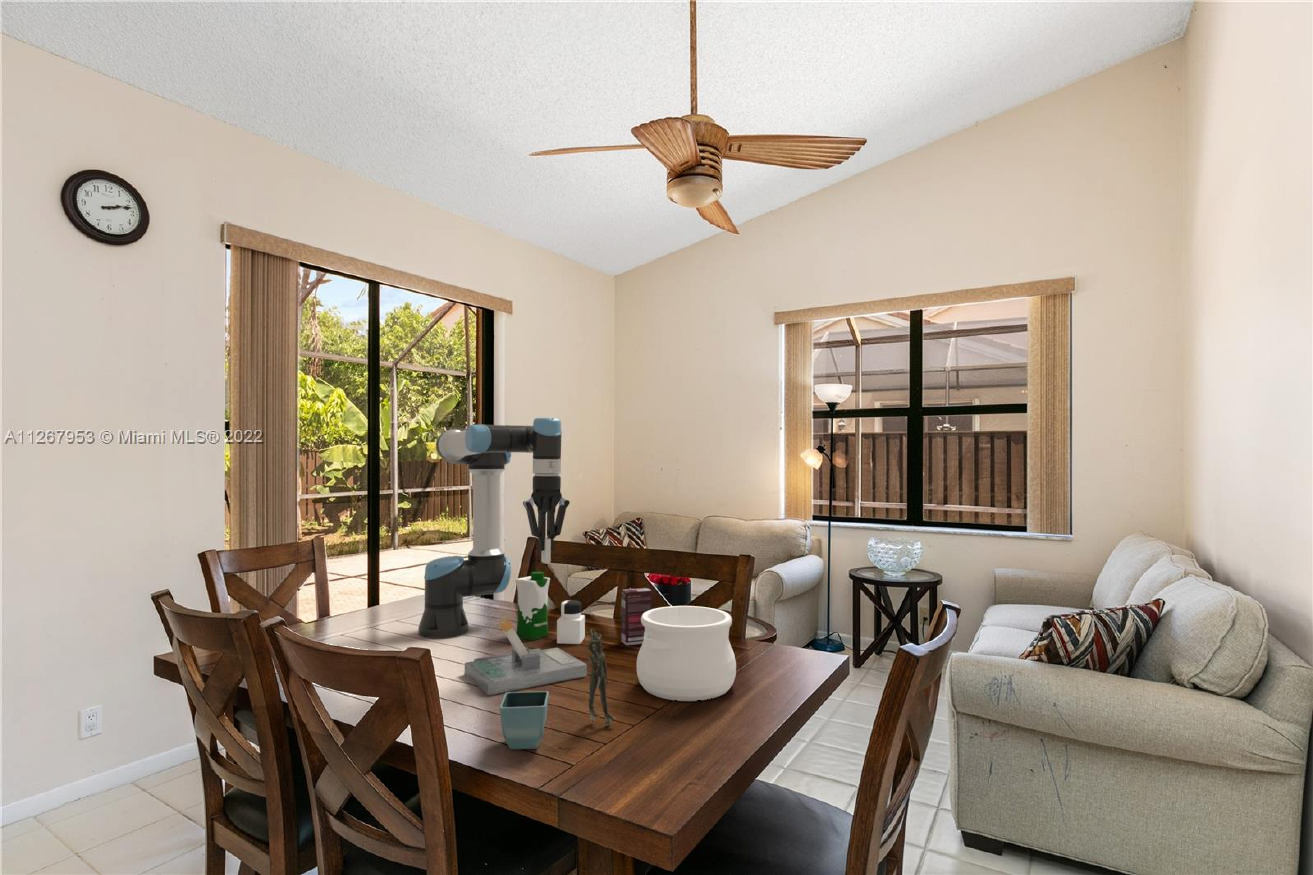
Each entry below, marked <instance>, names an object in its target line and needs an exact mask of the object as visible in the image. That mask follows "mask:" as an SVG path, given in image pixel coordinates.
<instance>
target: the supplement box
mask: <svg viewBox="0 0 1313 875" xmlns="http://www.w3.org/2000/svg"><path fill="white" fill-rule="evenodd" d="M620 591H621V592H620V593H621V599H620V600H621V604H620V605H621V643H623V644H624V645H625V646H633V645H634V646H635V645H642V643H643V641H644V632H645V627H644V626H643V625H642V623H641V617H642V615H643V613H645V612H646V611H649V610H652V609H653V590H652V589H651V588H648V587H639V588H638V587H637V588H630V589H629V588H628V589H627V588H626V589H621V590H620Z"/></svg>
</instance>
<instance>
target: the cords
mask: <svg viewBox="0 0 1313 875" xmlns="http://www.w3.org/2000/svg"><path fill="white" fill-rule="evenodd" d="M539 650H542V649H541V648H534V649H529V652H533V651H539ZM509 655H512V652H509V653H502V654H496V655H495V654H494V655H490V656H483V657H478V658H474V660H473V661H479V660H485V659H491V658H497V657H503V656H509Z"/></svg>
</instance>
